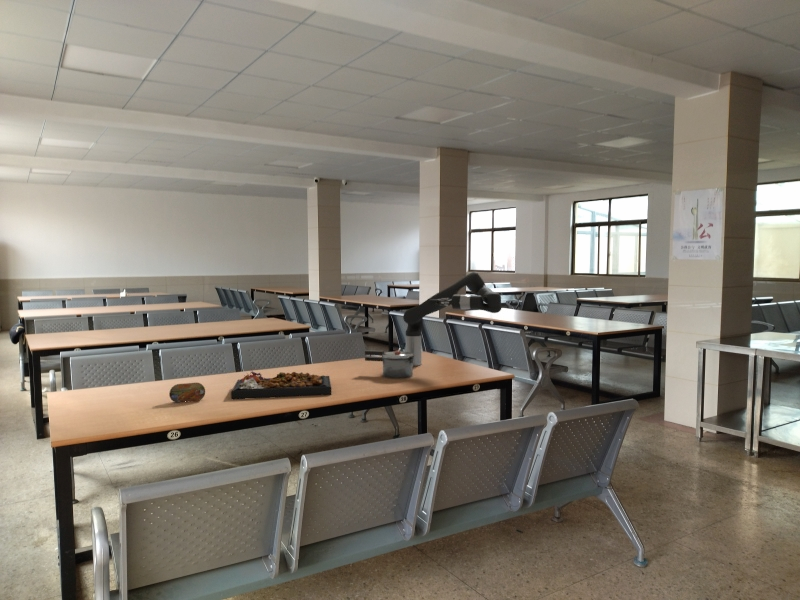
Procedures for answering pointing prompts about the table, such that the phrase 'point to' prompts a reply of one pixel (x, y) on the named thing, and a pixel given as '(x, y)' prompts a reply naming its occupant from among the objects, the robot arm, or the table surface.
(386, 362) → the cooker pot
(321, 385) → the food platter
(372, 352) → the cooker lid
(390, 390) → the table surface
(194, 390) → the tin
